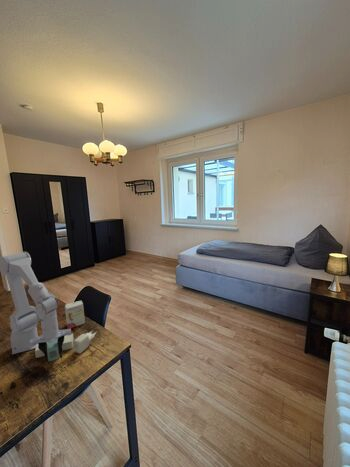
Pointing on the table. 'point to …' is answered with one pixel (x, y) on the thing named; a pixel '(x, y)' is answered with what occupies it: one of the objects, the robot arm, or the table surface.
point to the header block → (65, 346)
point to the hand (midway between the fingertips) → (53, 354)
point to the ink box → (74, 314)
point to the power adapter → (83, 342)
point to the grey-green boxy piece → (53, 350)
